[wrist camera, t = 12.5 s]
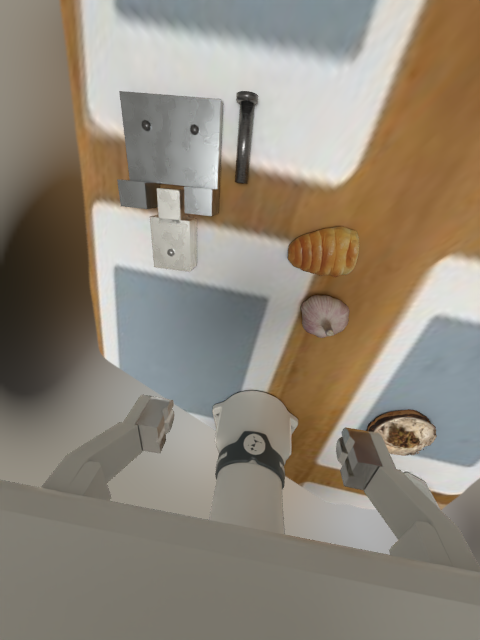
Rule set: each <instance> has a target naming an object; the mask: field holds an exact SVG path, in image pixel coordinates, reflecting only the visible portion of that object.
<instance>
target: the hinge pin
mask: <svg viewBox="0 0 480 640" xmlns="http://www.w3.org/2000/svg"><path fill="white" fill-rule="evenodd" d="M236 101H237V102H238V103H240V116H239V131H238V145H237V160H236V175H235V182H237V183H247V179H248V168H249V157H250V146H251V135H252V123H253V112H254V105H256V104H257V102H258V95H257V94H255V93H253V92H248V91H241V92H238V93H237V99H236Z"/></svg>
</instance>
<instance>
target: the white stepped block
mask: <svg viewBox="0 0 480 640" xmlns="http://www.w3.org/2000/svg"><path fill="white" fill-rule="evenodd" d="M157 201H158V214H159V215H155V216H151V217H150V225H151V236H152V247H153V258H154V267H157V268H165V269H173V270H180V271H188V272H190V271H191V270H192V269H193V268H194V267H195V266H196V265H197V218H190V217H188V213H185V205H184V190H181V189H171V188H157Z"/></svg>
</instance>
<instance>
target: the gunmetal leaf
mask: <svg viewBox="0 0 480 640" xmlns="http://www.w3.org/2000/svg"><path fill="white" fill-rule="evenodd" d="M120 100H121V108H122V117H123V125H124V134H125V142H126V151H127V159H128V168H129V177H130V180H117V181H118V188H119V195H120V202H121V206H125V207H134V208H143V209H150V208H156V207H158V201H157V188H160V183H162V184H172V185H181V186H184V205H185V213H188V214H197V215H206V216H213V215H215V214H217V213H219V192H220V168H221V143H222V119H223V102H222V101H221V99H212V98H199V97H186V96H173V95H161V94H148V93H135V92H122V91H120ZM189 186H191V187H189Z"/></svg>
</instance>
